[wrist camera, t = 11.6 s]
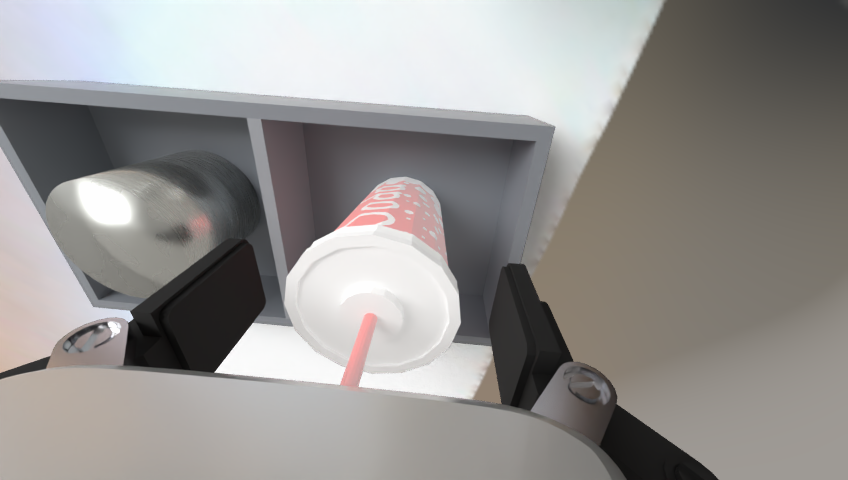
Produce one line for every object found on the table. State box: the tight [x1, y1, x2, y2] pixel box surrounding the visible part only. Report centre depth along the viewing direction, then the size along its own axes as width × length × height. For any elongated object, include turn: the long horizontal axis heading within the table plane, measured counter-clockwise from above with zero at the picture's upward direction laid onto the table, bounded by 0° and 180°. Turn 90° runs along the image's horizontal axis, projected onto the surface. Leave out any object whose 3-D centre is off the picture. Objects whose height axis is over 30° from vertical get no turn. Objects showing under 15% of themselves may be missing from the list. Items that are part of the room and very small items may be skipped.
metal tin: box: [45, 150, 260, 299], centre depth 16 cm, size 6×6×6 cm
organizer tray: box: [0, 80, 555, 346], centre depth 17 cm, size 12×25×4 cm, turn 86°
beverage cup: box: [284, 177, 461, 387], centre depth 12 cm, size 6×6×14 cm
